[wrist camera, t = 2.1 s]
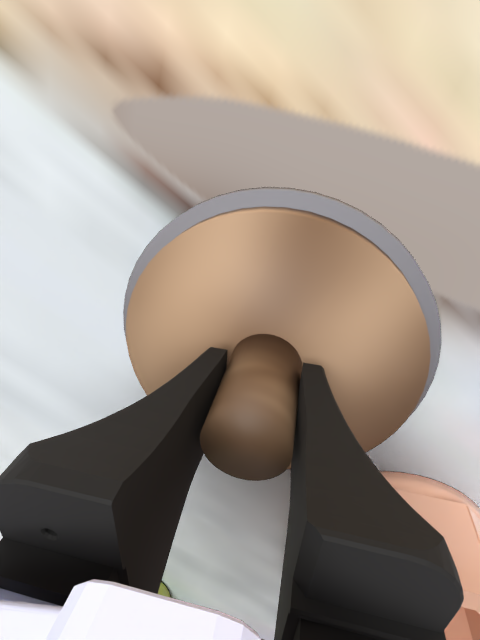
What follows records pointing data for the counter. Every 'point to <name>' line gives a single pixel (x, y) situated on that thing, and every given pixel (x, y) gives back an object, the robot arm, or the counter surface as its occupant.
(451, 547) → the bowl
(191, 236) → the lid
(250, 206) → the mat
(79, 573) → the robot arm
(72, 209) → the counter surface
